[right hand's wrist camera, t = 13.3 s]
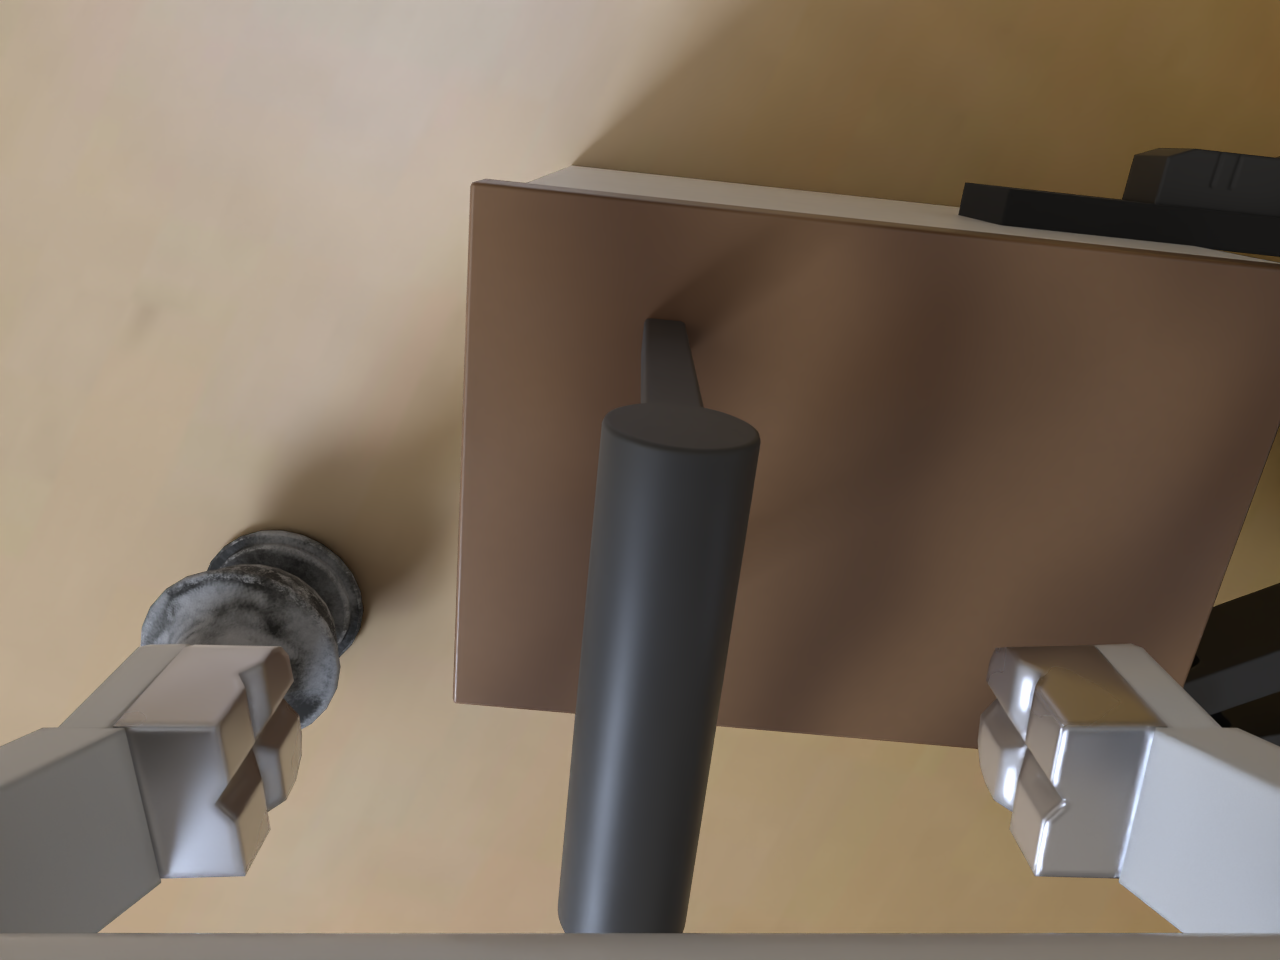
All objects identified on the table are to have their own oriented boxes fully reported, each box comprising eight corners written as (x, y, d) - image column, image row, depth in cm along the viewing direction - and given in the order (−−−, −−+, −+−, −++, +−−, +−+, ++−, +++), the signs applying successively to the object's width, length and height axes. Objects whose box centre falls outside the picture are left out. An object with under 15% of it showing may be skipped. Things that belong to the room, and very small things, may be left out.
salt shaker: (215, 496, 29) (-52, 722, 18) (392, 557, 30) (243, 811, 19) (179, 644, 31) (-83, 932, 20) (346, 698, 32) (185, 1005, 21)
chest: (546, 490, 29) (496, 673, 19) (569, 165, 26) (523, 182, 16) (963, 530, 30) (1127, 729, 20) (1041, 215, 26) (1288, 264, 16)
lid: (462, 672, 19) (336, 1050, 11) (481, 178, 16) (315, 220, 8) (1127, 730, 20) (1457, 1133, 12) (1290, 264, 16) (1919, 386, 8)
